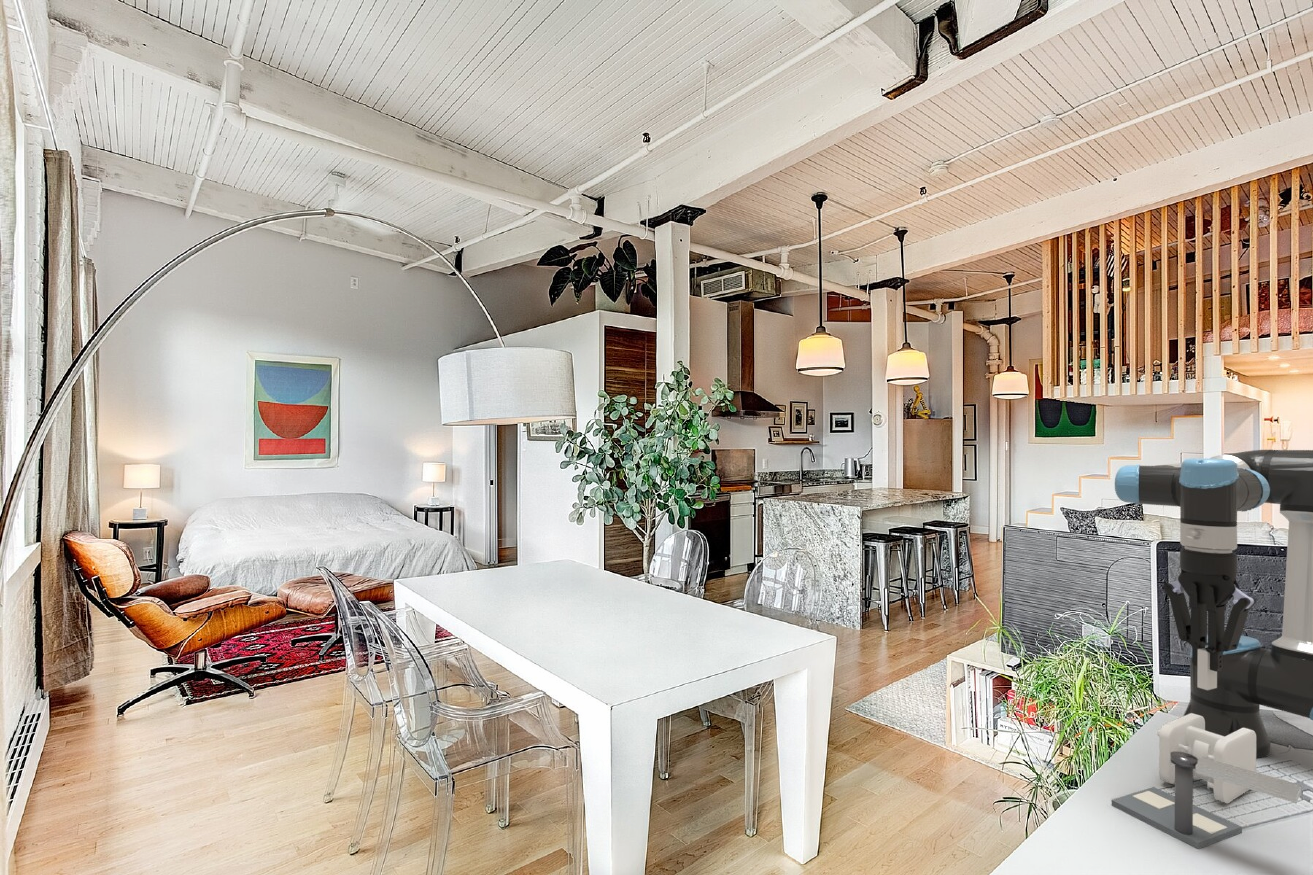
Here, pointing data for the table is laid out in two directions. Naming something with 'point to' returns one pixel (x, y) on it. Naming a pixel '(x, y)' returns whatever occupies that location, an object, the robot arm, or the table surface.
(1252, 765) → the cable organizer
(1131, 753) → the table surface
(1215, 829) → the label board
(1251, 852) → the table surface
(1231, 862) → the table surface
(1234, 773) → the grey lever handle
